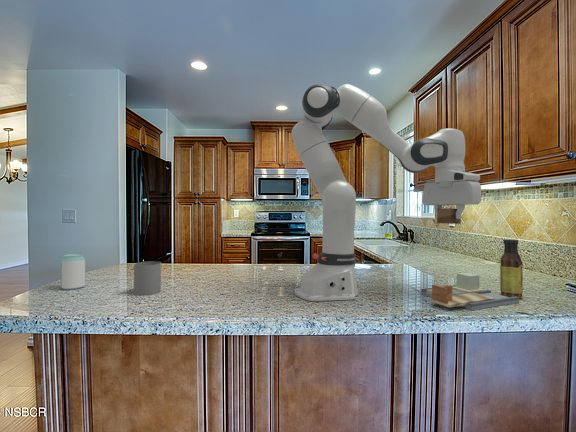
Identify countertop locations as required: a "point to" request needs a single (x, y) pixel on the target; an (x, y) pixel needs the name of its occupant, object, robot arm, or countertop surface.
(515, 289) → the sauce bottle
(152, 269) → the cup
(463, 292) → the lane board
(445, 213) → the walnut cube
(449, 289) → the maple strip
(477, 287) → the sage block
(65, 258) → the can
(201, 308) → the countertop surface
